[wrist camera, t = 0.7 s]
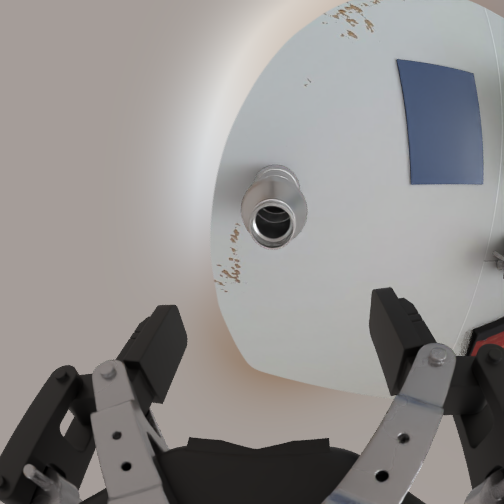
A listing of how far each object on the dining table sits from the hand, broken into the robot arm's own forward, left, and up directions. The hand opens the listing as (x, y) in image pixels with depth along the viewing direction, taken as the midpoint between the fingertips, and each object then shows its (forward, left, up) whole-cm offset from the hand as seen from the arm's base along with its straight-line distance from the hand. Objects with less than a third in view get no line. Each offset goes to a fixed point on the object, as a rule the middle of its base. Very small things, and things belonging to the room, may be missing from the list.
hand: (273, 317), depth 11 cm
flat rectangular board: (-9, +29, -31) cm, 43 cm away
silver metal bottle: (0, 0, -32) cm, 32 cm away
